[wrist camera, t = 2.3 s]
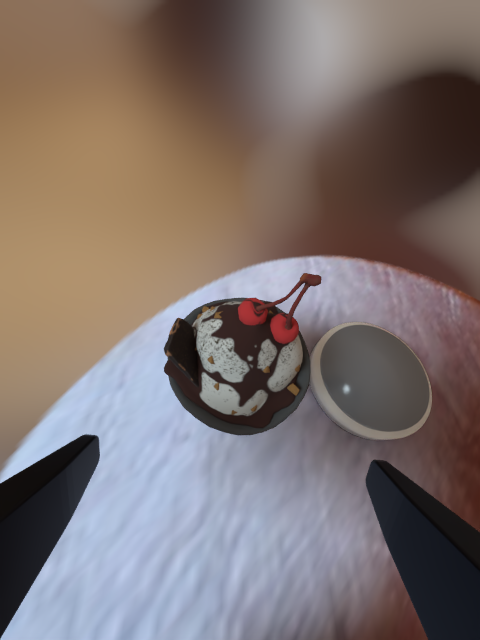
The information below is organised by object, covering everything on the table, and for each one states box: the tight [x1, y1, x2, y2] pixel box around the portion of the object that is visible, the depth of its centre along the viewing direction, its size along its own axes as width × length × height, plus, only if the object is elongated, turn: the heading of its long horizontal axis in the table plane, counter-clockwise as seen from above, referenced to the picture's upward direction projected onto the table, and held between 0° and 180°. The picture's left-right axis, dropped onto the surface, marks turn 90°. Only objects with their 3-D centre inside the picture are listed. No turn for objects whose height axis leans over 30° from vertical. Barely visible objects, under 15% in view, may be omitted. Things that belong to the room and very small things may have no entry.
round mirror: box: [310, 322, 432, 440], centre depth 21 cm, size 10×10×2 cm
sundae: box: [164, 273, 321, 435], centre depth 13 cm, size 7×7×15 cm
